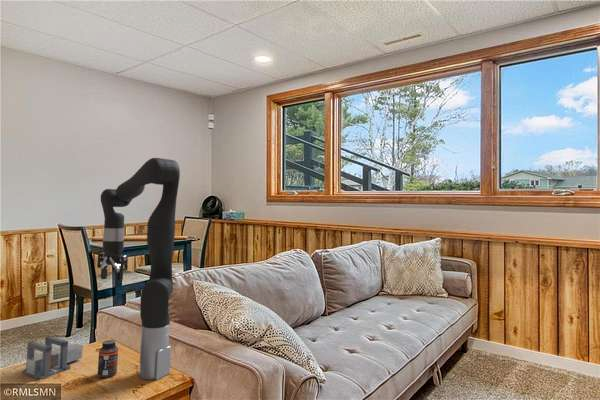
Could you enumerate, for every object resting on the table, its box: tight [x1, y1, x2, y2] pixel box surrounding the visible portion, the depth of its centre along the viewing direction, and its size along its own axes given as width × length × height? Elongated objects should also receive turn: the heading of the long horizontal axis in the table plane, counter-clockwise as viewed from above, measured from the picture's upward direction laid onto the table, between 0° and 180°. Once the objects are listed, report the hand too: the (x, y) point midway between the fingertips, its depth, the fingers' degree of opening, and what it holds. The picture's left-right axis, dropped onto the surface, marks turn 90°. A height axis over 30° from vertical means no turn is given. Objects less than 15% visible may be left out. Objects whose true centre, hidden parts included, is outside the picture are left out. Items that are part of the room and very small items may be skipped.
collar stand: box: [21, 335, 71, 381], centre depth 131 cm, size 10×10×10 cm
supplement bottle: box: [97, 339, 119, 379], centre depth 130 cm, size 6×6×11 cm
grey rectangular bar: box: [26, 343, 84, 375], centre depth 134 cm, size 4×17×5 cm, turn 156°
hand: (111, 280), depth 150 cm, fingers open, 8 cm apart
